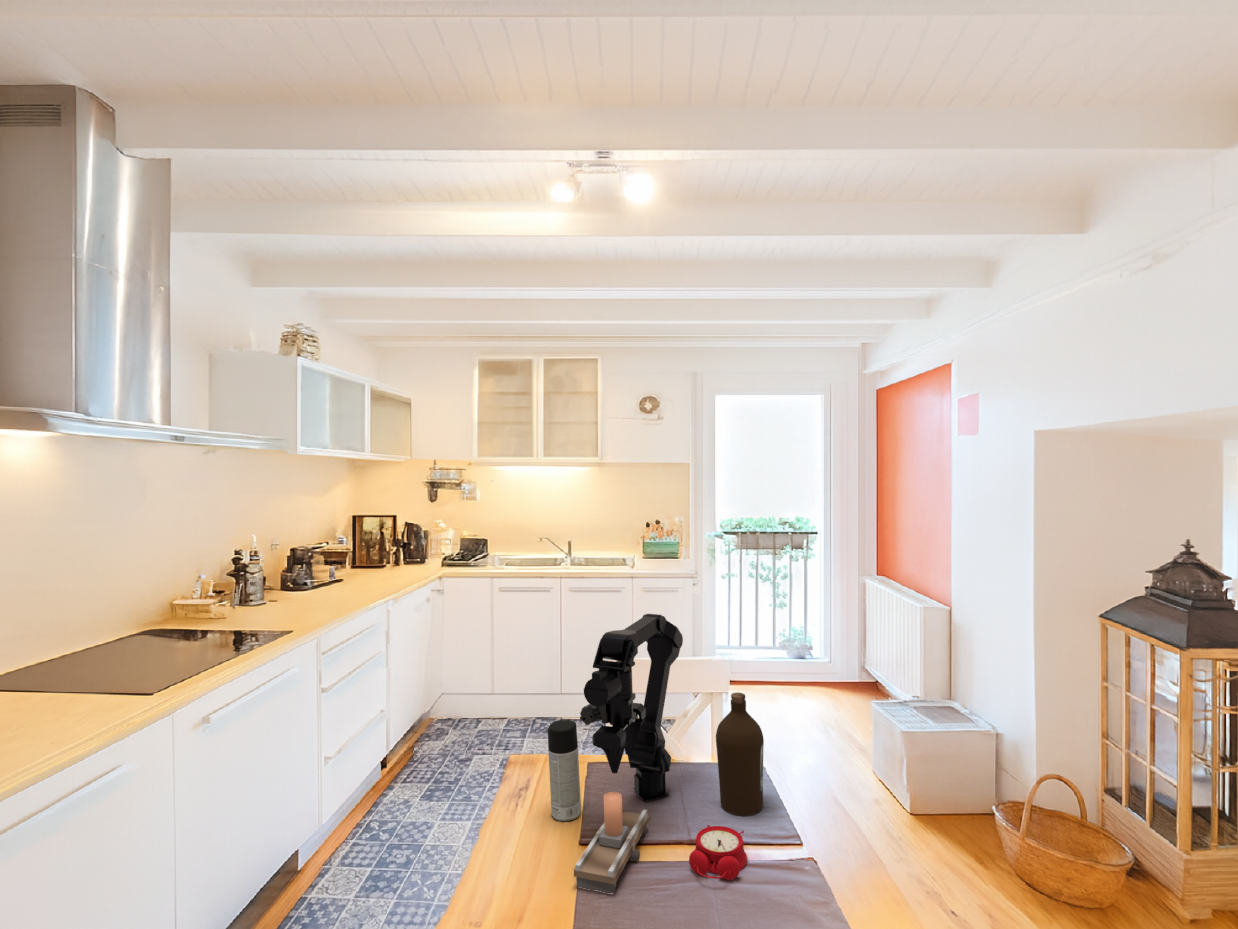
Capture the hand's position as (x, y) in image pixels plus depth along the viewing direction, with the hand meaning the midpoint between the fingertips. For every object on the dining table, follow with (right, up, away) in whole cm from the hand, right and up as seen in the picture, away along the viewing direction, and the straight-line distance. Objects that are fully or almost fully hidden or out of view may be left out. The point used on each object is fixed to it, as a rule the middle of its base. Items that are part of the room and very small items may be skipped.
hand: (621, 763), depth 141 cm
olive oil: (+27, -12, +6) cm, 30 cm away
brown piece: (-1, -13, -12) cm, 18 cm away
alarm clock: (+19, -13, -15) cm, 27 cm away
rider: (-2, -10, -12) cm, 15 cm away
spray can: (-12, -14, +4) cm, 19 cm away
